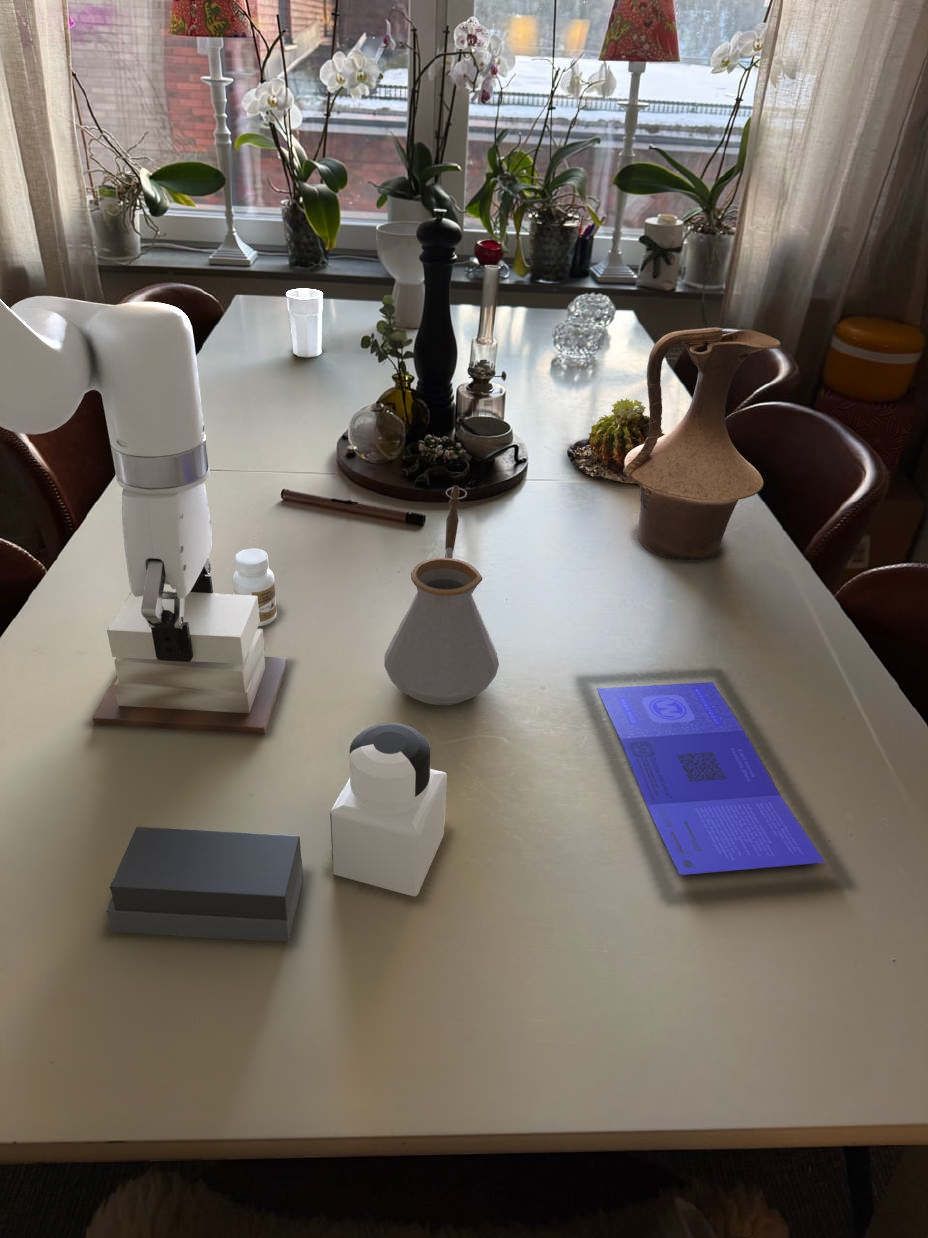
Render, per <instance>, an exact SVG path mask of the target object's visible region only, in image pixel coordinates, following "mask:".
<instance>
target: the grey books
mask: <svg viewBox="0 0 928 1238" xmlns="http://www.w3.org/2000/svg"><path fill="white" fill-rule="evenodd" d="M303 871H304V870H303V858H302V849H301V837H300V835H290V834H289V835H288V834H276V833H275V834H273V833H257V832H240V831H239V832H238V831H225V830H224V831H223V830H222V831H220V830H205V829H189V828H186V829H185V828H172V827H171V828H169V827H154V826H151V827H150V826H135V828H134V830H133V833H132V834H131V838H130V839H129V842H128V843H127V847H126V848H125V851H124V853H123V855H122V858H121V860H120V862H119V864H118V867H117V869H116V871H115V873H114V876H113V879H112V881H111V882H110V885H109V889H110V894H111V899H110V901H109V903H108V906H107V908H106V915H107V919H108V923H109V927H110V930H111V932H112V933H127V934H144V935H161V936H163V935H164V936H178V937H179V936H182V937H197V938H214V939H215V938H216V939H232V940H248V941H264V942H265V941H266V942H281V943H282V942H283V943H284V942H285V943H289V942H290V939H291V934H292V931H293V925H294V920H295V917H296V911H297V907H298V903H299V898H300V894H301V890H302V885H303V881H304V872H303Z"/></svg>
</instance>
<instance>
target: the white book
mask: <svg viewBox="0 0 928 1238" xmlns="http://www.w3.org/2000/svg"><path fill="white" fill-rule="evenodd" d="M173 591H174V592H176V590H173ZM142 600H143V596H139V597H135V596H134V595H133V594H132V593H131V591H130V592H129V594H128V595H127V597H126V598H125V600H124V602H123V603H122V605H121V607H120V608H119V610H118V611H117V613H116V614H115V616H114V617H113V619H112V621H111V623H110V624H109V625H108V627H107V629H106V632H107V638H108V642H109V648H110V653H111V657H112V658H116V657H123V658H141V659H157V658H156V653H155V648H154V642H153V636H152V630H151V627H149V623H148V622H147V619H146V618H145V617H143V616H142V614H141V607H142ZM174 600H175V599H162V606H163V607H164V610H169V611H171V612H172V613H174ZM184 622H188V624H189V631H190V638H191V644H192V651H193V658H192V660H191V661H195V662H213V663H231V664H244V661H245V659H246V656H247V653H248V651H249V648H250V646H251V643H252V640H253V638H254V635H255V633H256V630H257V629H258V627H259V626H258V625H259V622H260V618H259V607H258V597H257V596H251V595H234V593H233V594H232V593H230V594H229V593H214V592H213V593H196V592H189V594H188V595H186V596H185V597H184Z"/></svg>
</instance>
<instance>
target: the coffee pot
mask: <svg viewBox="0 0 928 1238" xmlns="http://www.w3.org/2000/svg"><path fill="white" fill-rule="evenodd" d="M448 491H451V492H450V495H449V494H448ZM460 491H462V492H464V493H465V494H464V495H463V496H461V497H460ZM445 495H446V496H447V498H450V499H449V500H448V502H447V503H448V506H449V509H448V513H447V517H446V520H445V542H444V545H445V546H444V550H445V552H444V557H435V558H429V559H425V560H423V561H421V562H419V563H417V564H416V565H415V566H414V567H413V569H412V570H411V572H410V579H411V582H412V583H413V585H414V586H415V587H416V590H417V592H416V593H415V596H414V597H413V598H412V600H411V602H410V605H409V606H408V608H407V610H406V612H405V614H404V616H403V618H402V620H401V621H400V623H399V625H398V627H397V628H396V631H395V633H394V634H393V637H392V638H391V640H390V642H389V644H388V646H387V649H386V651H385V653H384V658H383V659H384V662H383V663H384V668H385V670H386V673H387V675H388V677H389V679H390V680H391V682H392V683H393V684H394V685H395V686H396V687H397V689H398V690H400V691H401V692H402V693H404V694H406V695H408V697H411V698H413V699H415V700H417V701H419V702H422V703H425V704H428V705H432V706H433V705H434V706H451V705H457V704H459V703H462V702H465V701H468V700H470V699H472V698H475V697H476V696H478V695H479V694H481V693H482V692H483V691H485V690H487V688H488V687H489V685H490V684H491V683H492V682H493V680H494V679H495V677H496V676H497V673H498V669H499V666H500V661H499V656H498V652H497V649H496V648H495V647H496V646H495V645H494V643H493V640H492V638H491V635H490V634H489V631H488V628H487V627H486V624H485V622H484V619H483V618H482V615H481V612H480V610H479V608H478V605H477V604H476V601H475V598H474V597H473V593H474V591H475V590H476V589H477V587H478V586H479V584H481V582H482V581H483V576H482V575H481V574H480V571H478V570H477V568H476V567H474V566H473V565H472V564H470V563H468V562H466V561H464V560H461V559H457V558H453V557H454V550H455V545H456V538H457V533H458V527H459V526H458V525H459V510H458V509H459V507H460V505H461V502H460V500H463V499H465V498H466V497H467V496H468V492H467V490H466V489H465V488H462V487H459V485H457V484H454V485H453V486H452V487H448V488H447V489H446V490H445Z"/></svg>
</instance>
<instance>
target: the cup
mask: <svg viewBox="0 0 928 1238" xmlns="http://www.w3.org/2000/svg"><path fill="white" fill-rule="evenodd" d="M285 295H286V304H287V311H288V314H289V325H290V333H291V340H292V341H291V343H292V352H293V354H294V355H296V356H297V357H301V358H314V357H319V356H320V355H321V354H322V323H323V310H324V307H323V305H324V304H323V301H324V296H323V295H324V293H323V292H322V291H320V290H317V289H311V288H296V289H291V290H288V291H287V292H286V293H285Z"/></svg>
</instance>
